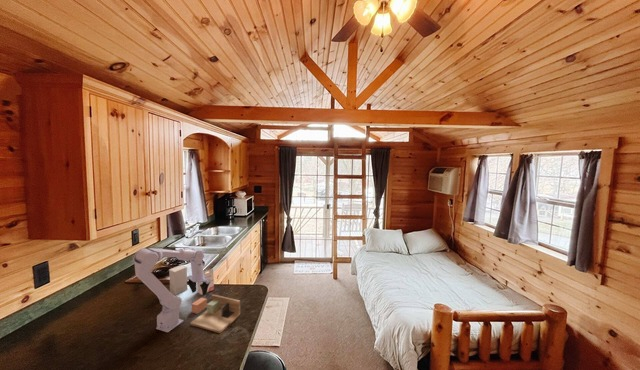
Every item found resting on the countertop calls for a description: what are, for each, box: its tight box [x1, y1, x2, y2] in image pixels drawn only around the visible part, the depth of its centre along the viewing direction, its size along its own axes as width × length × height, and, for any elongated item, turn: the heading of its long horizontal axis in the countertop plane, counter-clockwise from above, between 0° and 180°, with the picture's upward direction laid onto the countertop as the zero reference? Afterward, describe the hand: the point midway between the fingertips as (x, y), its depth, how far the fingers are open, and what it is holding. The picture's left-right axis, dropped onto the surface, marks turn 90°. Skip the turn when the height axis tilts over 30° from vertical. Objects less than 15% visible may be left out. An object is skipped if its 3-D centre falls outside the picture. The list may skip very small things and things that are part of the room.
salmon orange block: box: [191, 297, 208, 314], centre depth 140 cm, size 7×4×5 cm, turn 162°
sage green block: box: [206, 299, 220, 314], centre depth 137 cm, size 5×4×5 cm
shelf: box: [190, 294, 241, 334], centre depth 131 cm, size 16×18×8 cm
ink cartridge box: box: [196, 268, 215, 296], centre depth 159 cm, size 9×5×15 cm, turn 143°
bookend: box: [221, 303, 234, 318], centre depth 134 cm, size 5×4×5 cm
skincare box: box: [168, 264, 189, 296], centre depth 158 cm, size 8×7×16 cm
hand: (199, 293), depth 139 cm, fingers open, 7 cm apart
